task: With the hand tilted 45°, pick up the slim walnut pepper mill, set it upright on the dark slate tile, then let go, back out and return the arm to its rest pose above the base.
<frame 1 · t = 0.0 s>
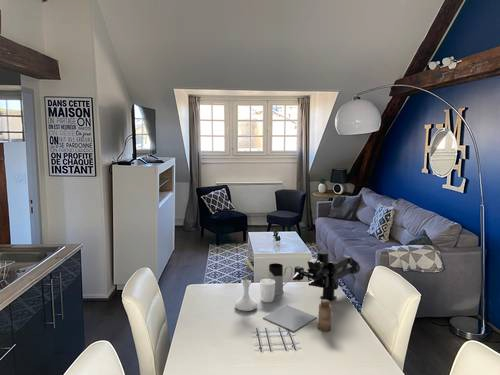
hand: (300, 281, 182), 17 cm above the table, tool horizontal, fingers open, 9 cm apart
pepper mill: (324, 328, 171), on the table
grey pitcher: (280, 291, 212), on the table
white cup: (267, 299, 201), on the table
slate tile: (289, 318, 181), on the table
flower in vase: (246, 307, 192), on the table
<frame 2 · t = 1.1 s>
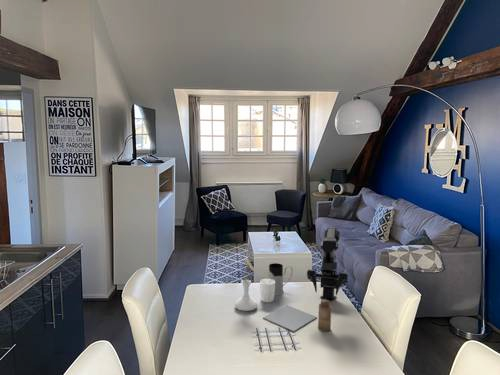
hand: (326, 293, 177), 13 cm above the table, tool tilted 45°, fingers open, 9 cm apart
nothing on the table moved.
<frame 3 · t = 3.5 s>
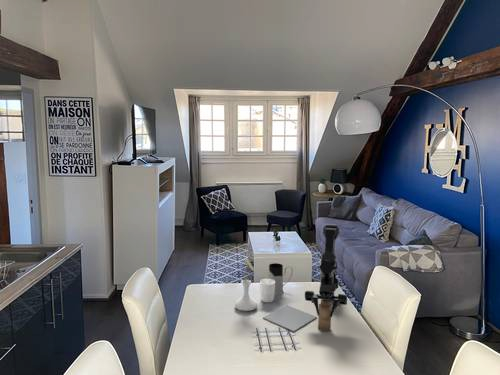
hand: (324, 316, 169), 7 cm above the table, tool tilted 45°, fingers closed on pepper mill, 5 cm apart
pepper mill: (324, 328, 171), on the table, touching gripper
everything else where it was.
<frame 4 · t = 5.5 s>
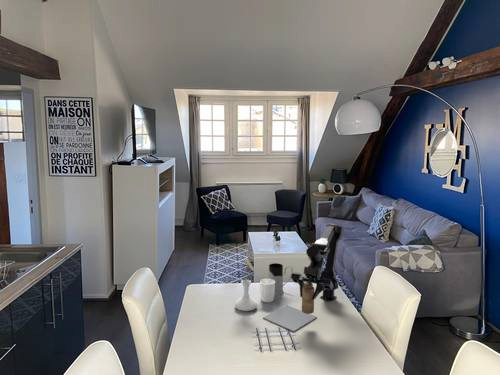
hand: (306, 298, 172), 13 cm above the table, tool tilted 45°, fingers closed on pepper mill, 5 cm apart
pepper mill: (307, 310, 174), point 7 cm above the table, touching gripper
everything else where it was.
when the fingers open (8 cm above the table, at t = 7.9 s): pepper mill stays where it is, resting on slate tile.
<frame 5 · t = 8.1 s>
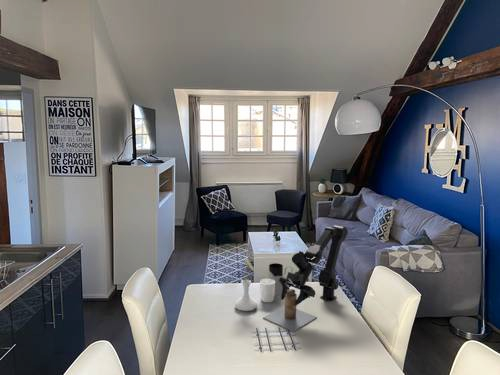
hand: (288, 302, 179), 8 cm above the table, tool tilted 45°, fingers open, 8 cm apart
pepper mill: (290, 316, 181), point 1 cm above the table, touching slate tile
everything else where it was.
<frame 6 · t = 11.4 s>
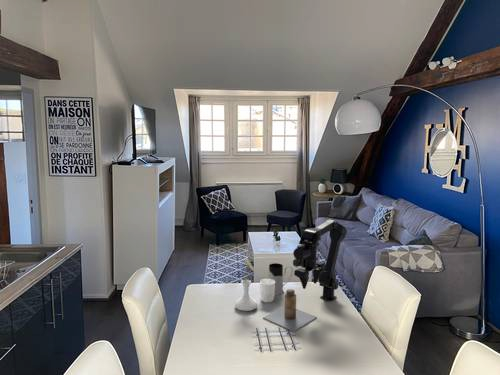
hand: (309, 285, 189), 12 cm above the table, tool pointing down, fingers open, 9 cm apart
nothing on the table moved.
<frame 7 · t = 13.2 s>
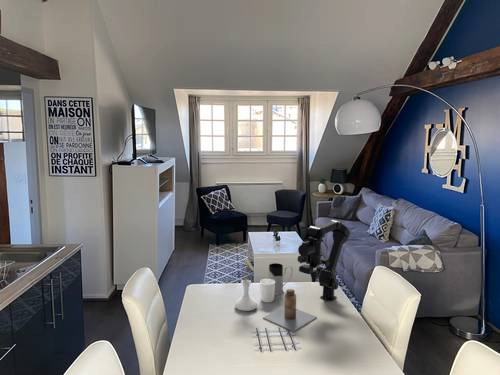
hand: (314, 281, 191), 13 cm above the table, tool pointing down, fingers closed
nothing on the table moved.
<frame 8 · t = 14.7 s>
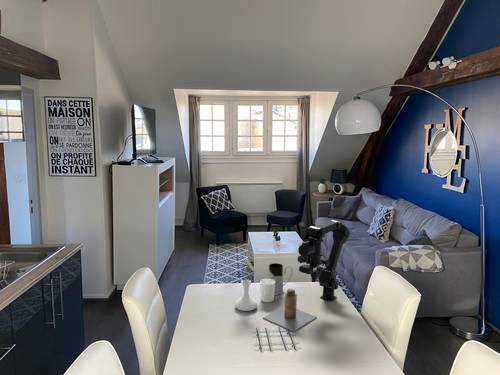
hand: (314, 281, 191), 13 cm above the table, tool pointing down, fingers closed
nothing on the table moved.
at the end: pepper mill inside the target area on the slate tile (0.1 cm from its centre), point 0.7 cm above the slate tile's base; pepper mill tilted 1°; the gripper is holding nothing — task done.
